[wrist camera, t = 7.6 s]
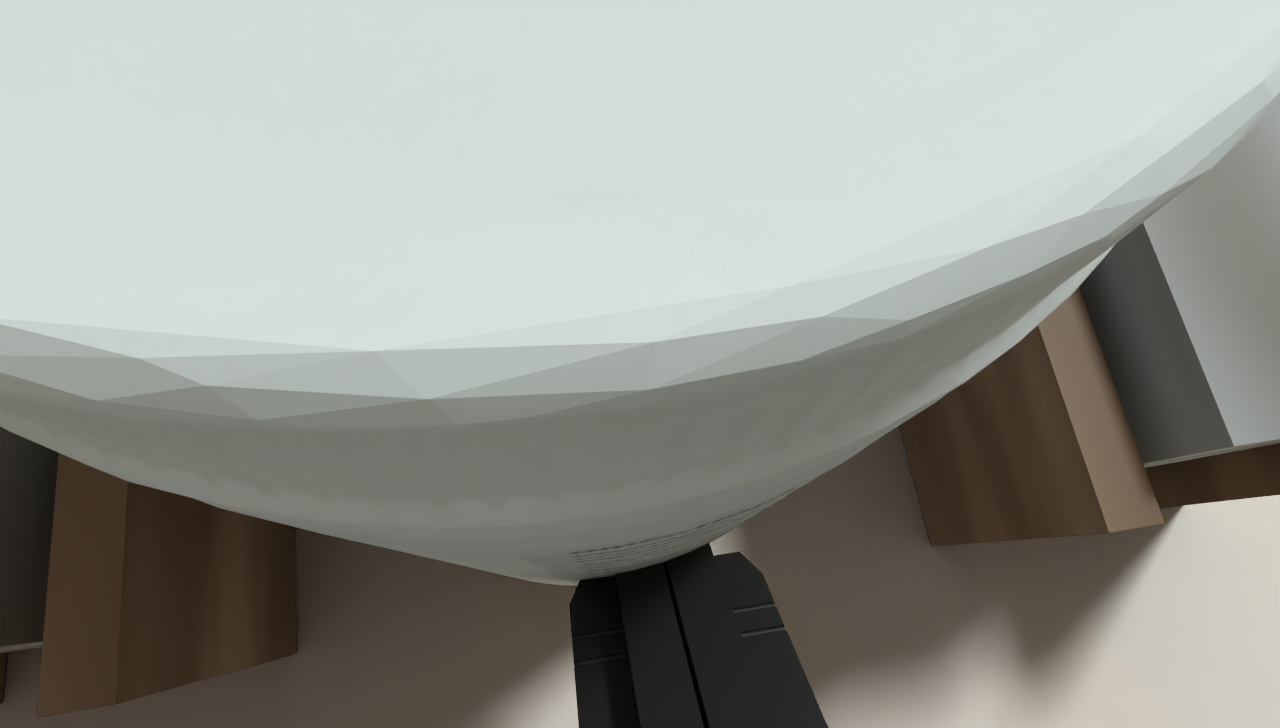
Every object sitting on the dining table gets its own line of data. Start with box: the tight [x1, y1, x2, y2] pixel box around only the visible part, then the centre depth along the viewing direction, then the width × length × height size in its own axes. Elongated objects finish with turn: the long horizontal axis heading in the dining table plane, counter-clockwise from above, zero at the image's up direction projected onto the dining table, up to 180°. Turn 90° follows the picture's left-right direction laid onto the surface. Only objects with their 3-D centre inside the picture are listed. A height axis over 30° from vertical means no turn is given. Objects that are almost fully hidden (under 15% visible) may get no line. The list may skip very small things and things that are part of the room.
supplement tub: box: [0, 0, 1280, 586], centre depth 10 cm, size 10×10×15 cm
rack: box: [0, 102, 1280, 718], centre depth 13 cm, size 29×13×10 cm, turn 99°
